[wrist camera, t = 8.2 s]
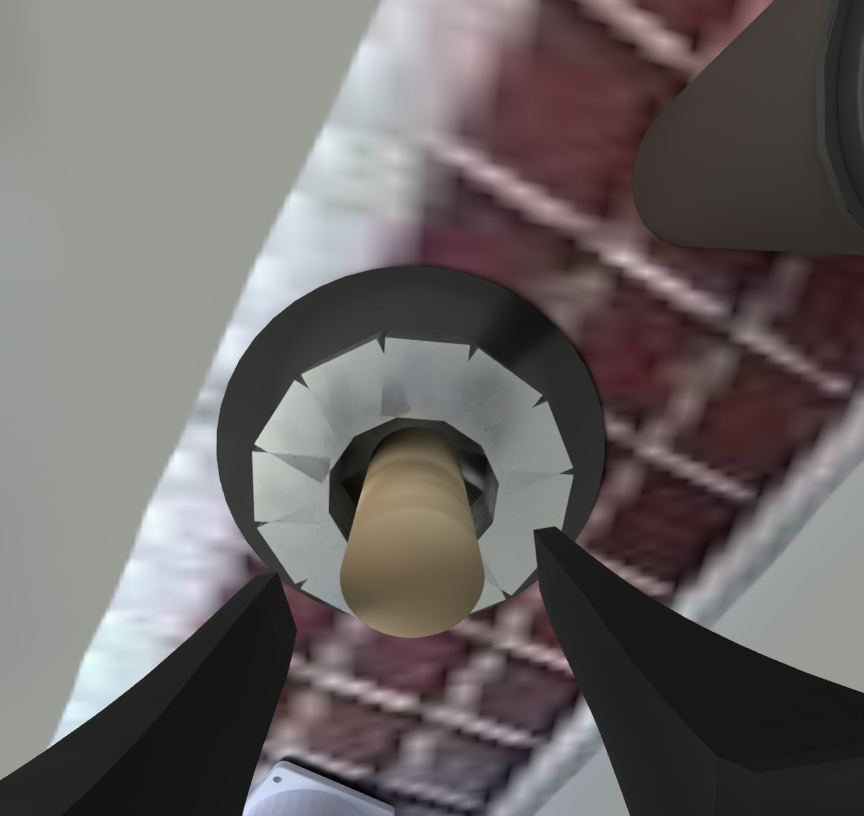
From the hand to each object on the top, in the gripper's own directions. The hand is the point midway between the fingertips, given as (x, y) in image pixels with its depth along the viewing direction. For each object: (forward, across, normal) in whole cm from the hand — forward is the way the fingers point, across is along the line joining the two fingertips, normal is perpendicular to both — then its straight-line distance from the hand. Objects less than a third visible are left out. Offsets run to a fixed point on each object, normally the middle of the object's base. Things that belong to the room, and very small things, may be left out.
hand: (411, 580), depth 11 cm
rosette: (+7, 0, 0) cm, 7 cm away
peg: (+7, 0, 0) cm, 7 cm away
